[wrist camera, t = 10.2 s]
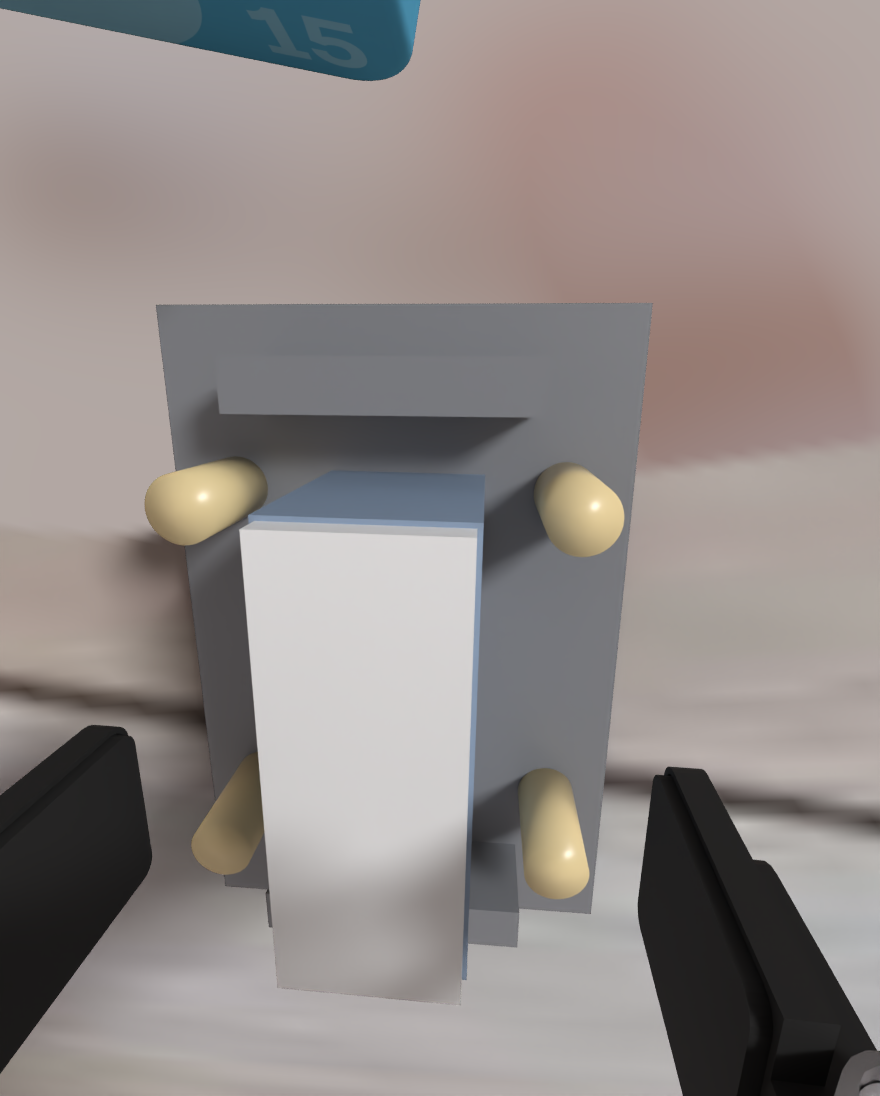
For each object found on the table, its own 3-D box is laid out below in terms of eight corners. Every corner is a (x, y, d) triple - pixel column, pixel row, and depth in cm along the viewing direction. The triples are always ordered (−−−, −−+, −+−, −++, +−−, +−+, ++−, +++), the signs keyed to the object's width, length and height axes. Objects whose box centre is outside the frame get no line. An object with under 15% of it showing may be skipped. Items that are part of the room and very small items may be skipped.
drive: (485, 474, 15) (483, 531, 9) (472, 802, 17) (465, 1009, 12) (331, 470, 15) (232, 522, 9) (343, 793, 18) (273, 991, 12)
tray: (641, 308, 14) (698, 279, 10) (585, 887, 19) (610, 1013, 15) (176, 310, 15) (70, 283, 11) (237, 861, 20) (178, 975, 16)
